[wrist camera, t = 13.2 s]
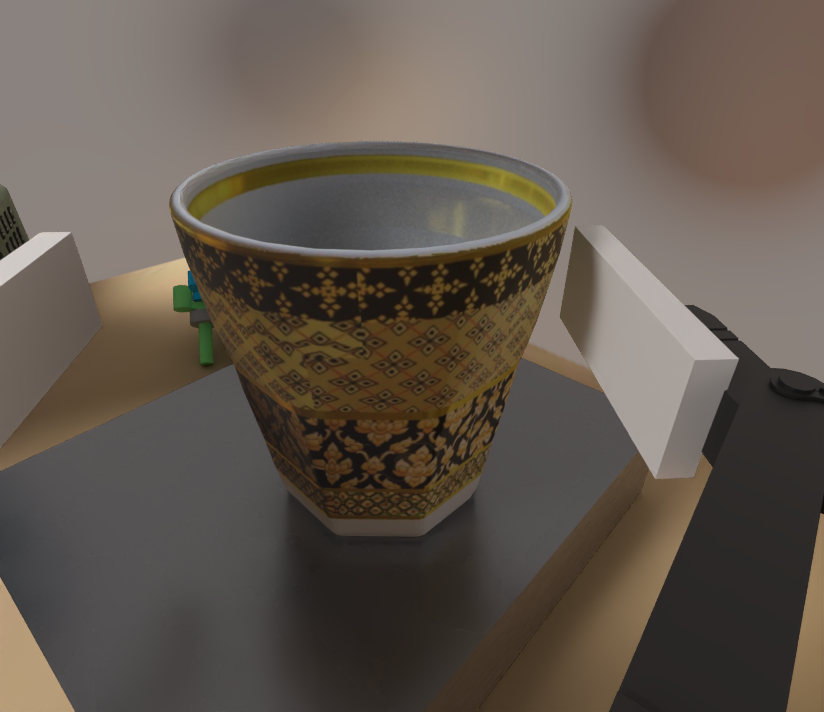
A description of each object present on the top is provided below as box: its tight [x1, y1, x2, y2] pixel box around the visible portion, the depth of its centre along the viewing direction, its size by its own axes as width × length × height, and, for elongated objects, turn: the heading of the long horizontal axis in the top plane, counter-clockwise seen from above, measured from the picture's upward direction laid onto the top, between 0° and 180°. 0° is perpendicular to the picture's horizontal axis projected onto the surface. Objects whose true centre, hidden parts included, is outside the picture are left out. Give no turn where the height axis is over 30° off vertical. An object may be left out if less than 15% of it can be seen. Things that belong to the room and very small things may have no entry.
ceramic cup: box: [169, 141, 572, 537], centre depth 18 cm, size 13×10×10 cm
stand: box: [0, 358, 649, 712], centre depth 21 cm, size 16×20×4 cm
